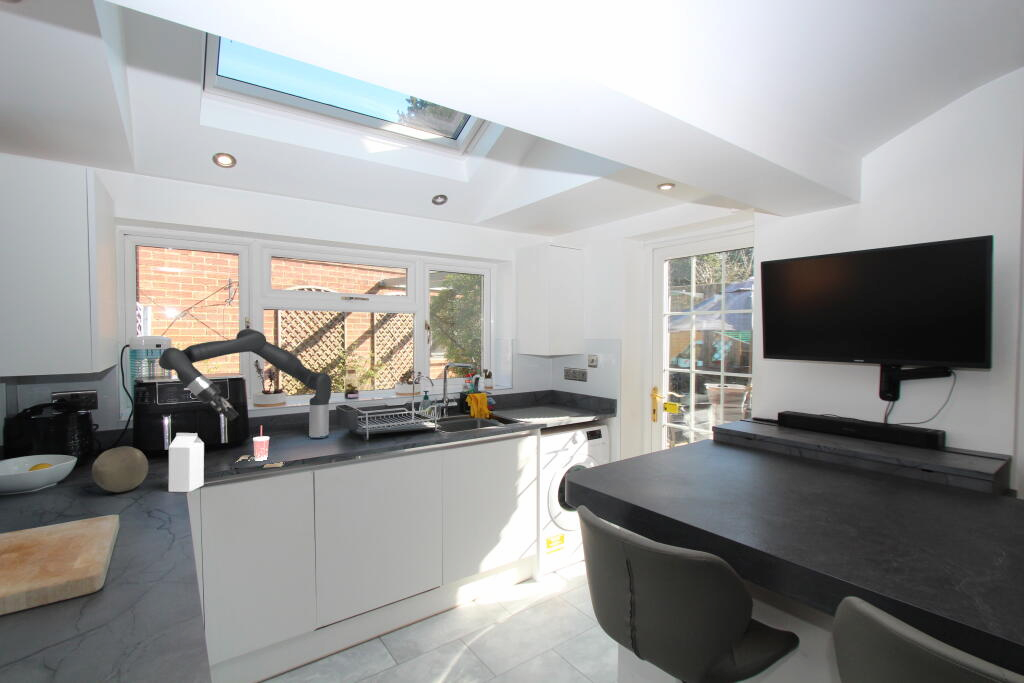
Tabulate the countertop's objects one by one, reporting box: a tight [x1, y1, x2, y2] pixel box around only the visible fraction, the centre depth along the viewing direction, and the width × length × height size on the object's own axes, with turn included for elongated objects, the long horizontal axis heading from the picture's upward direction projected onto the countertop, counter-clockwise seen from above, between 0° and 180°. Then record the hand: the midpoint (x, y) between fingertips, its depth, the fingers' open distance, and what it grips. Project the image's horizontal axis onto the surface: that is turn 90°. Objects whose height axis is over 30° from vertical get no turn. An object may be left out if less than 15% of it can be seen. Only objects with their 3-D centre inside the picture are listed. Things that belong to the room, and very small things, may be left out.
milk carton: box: [168, 432, 205, 493], centre depth 161 cm, size 7×7×19 cm
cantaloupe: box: [91, 445, 149, 493], centre depth 156 cm, size 14×14×15 cm
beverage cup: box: [252, 425, 270, 461], centre depth 195 cm, size 6×6×14 cm
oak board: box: [236, 454, 284, 468], centre depth 196 cm, size 18×18×1 cm
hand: (234, 417), depth 193 cm, fingers open, 8 cm apart
